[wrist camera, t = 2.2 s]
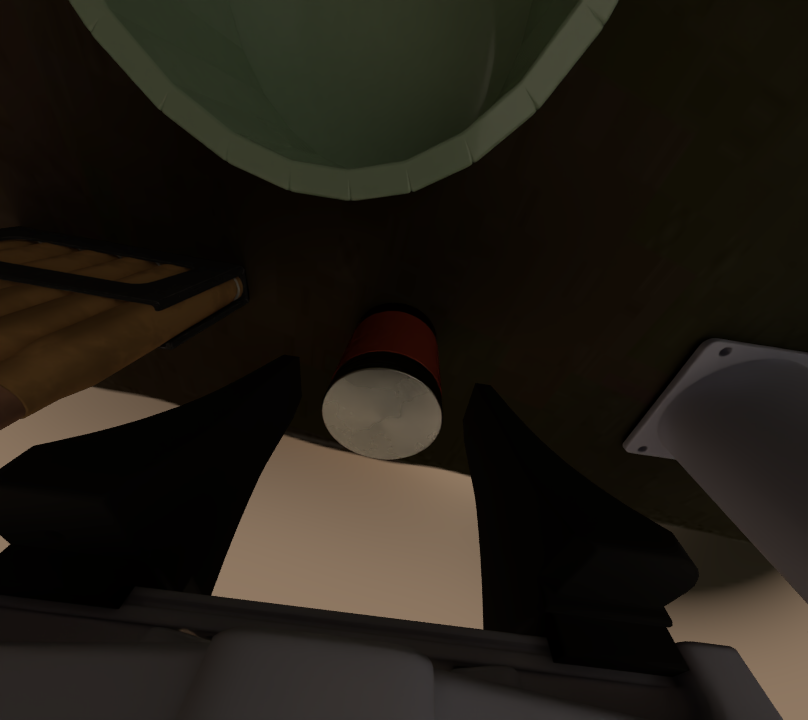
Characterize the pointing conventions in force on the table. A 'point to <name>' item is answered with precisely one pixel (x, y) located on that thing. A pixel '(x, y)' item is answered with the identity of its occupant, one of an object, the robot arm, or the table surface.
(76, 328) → the ammunition clip
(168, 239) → the table surface
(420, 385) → the tin can
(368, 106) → the cup
